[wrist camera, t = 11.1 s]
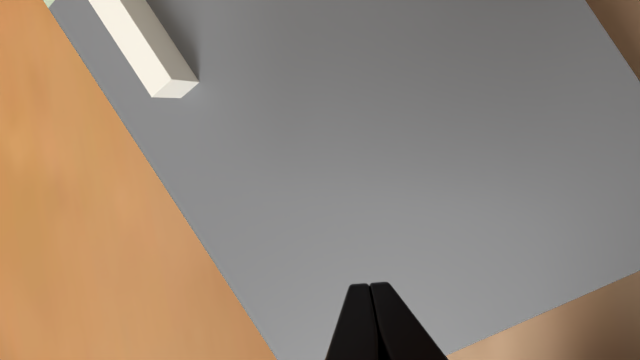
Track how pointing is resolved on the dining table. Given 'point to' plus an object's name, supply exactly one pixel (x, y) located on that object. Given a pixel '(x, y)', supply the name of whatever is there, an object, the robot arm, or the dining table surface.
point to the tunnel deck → (382, 151)
